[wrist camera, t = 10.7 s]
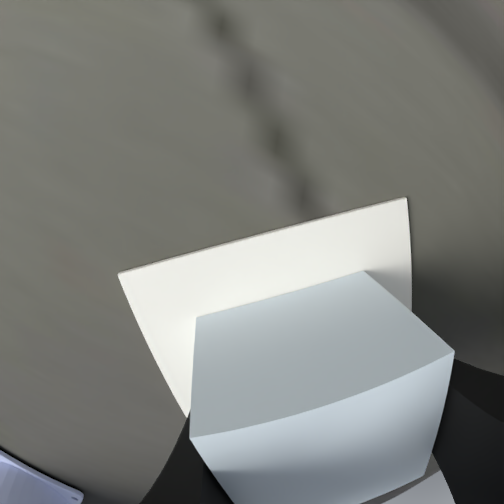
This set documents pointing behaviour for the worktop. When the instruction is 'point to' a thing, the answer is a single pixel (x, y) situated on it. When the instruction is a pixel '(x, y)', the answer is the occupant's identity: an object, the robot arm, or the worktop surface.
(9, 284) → the worktop surface
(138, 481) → the worktop surface
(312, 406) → the white box
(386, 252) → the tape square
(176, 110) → the worktop surface
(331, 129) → the worktop surface
